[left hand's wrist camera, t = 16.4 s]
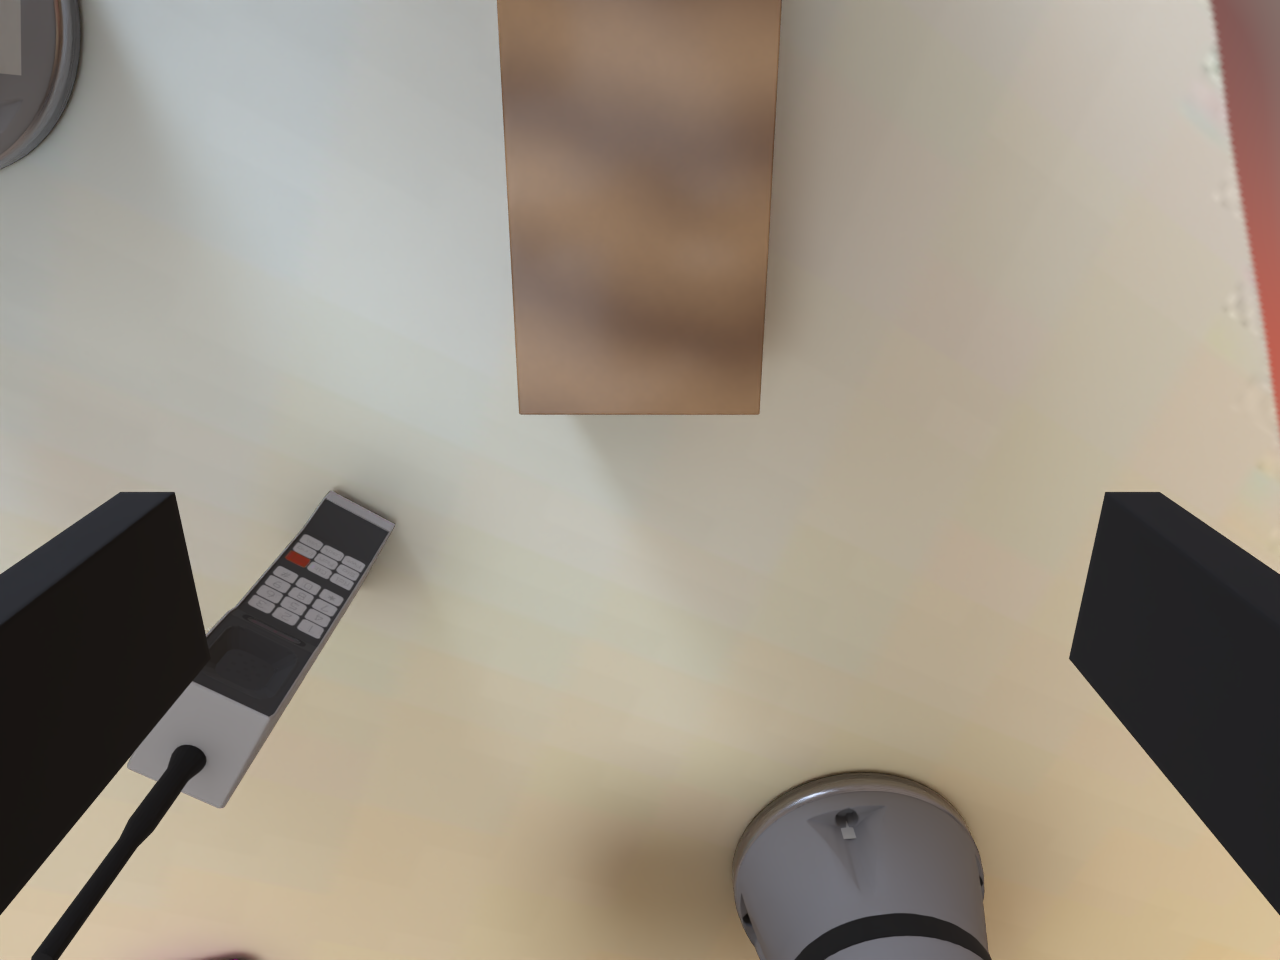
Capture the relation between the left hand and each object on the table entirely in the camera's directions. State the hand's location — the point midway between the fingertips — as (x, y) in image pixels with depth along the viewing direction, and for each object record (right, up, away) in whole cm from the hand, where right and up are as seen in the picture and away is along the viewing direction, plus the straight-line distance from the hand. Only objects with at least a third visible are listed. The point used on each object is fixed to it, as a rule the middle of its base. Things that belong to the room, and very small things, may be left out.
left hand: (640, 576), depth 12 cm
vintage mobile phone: (-16, -2, +34) cm, 37 cm away
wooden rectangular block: (0, +17, +26) cm, 31 cm away
